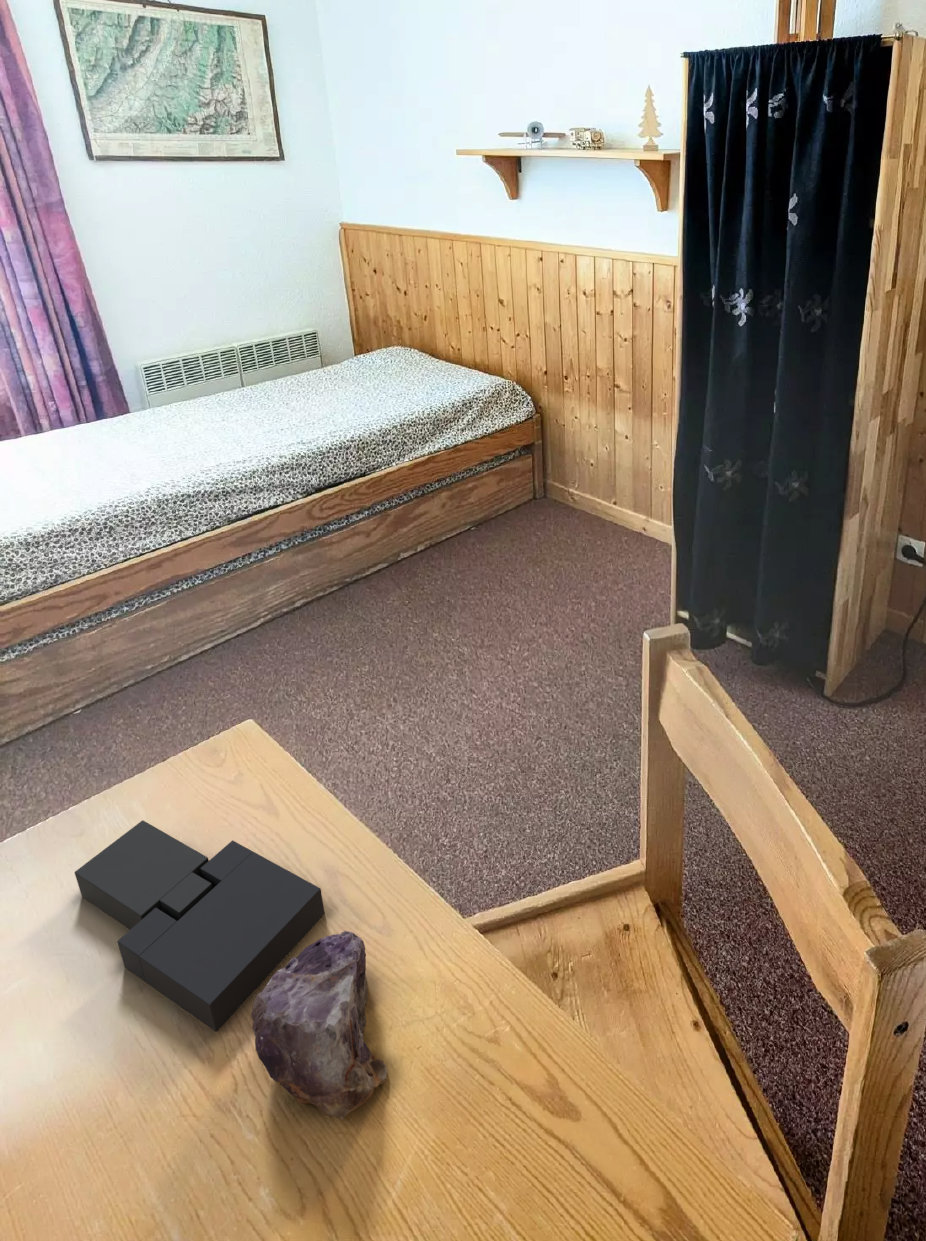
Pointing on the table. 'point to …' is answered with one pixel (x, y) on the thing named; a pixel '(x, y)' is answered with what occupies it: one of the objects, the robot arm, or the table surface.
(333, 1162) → the table surface
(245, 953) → the dock pad
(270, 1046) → the rock
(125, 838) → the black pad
